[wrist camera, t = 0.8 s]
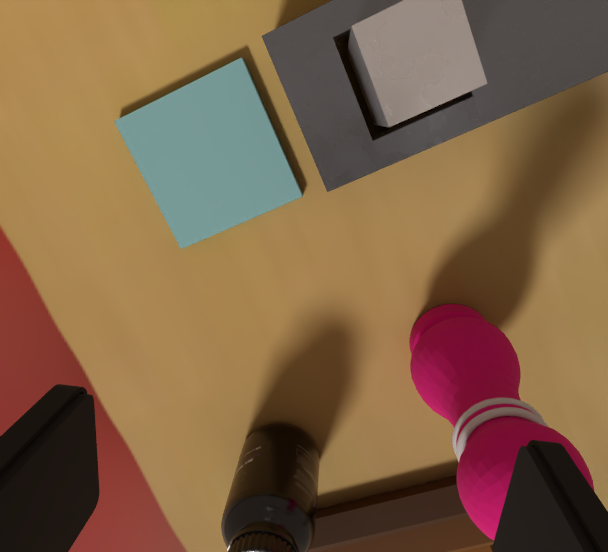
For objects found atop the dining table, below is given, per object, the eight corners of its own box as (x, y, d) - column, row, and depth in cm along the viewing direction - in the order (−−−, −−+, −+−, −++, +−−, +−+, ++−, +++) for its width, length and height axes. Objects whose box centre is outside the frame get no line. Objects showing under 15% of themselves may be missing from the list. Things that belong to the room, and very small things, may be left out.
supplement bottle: (240, 418, 42) (204, 531, 30) (319, 422, 41) (313, 537, 30) (243, 484, 44) (211, 612, 33) (319, 487, 44) (312, 618, 32)
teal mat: (243, 58, 33) (241, 57, 32) (303, 194, 36) (302, 196, 35) (118, 121, 35) (113, 121, 34) (184, 246, 37) (181, 248, 37)
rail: (572, -106, 29) (608, -140, 25) (612, 60, 32) (650, 53, 28) (270, 45, 33) (261, 36, 29) (328, 183, 35) (327, 192, 31)
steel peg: (418, 18, 32) (453, -25, 22) (443, 93, 33) (487, 83, 23) (347, 52, 32) (351, 26, 23) (374, 124, 34) (389, 127, 24)
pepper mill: (391, 368, 39) (443, 601, 20) (419, 287, 37) (505, 464, 18) (477, 389, 40) (608, 640, 21) (510, 309, 37) (690, 509, 18)
